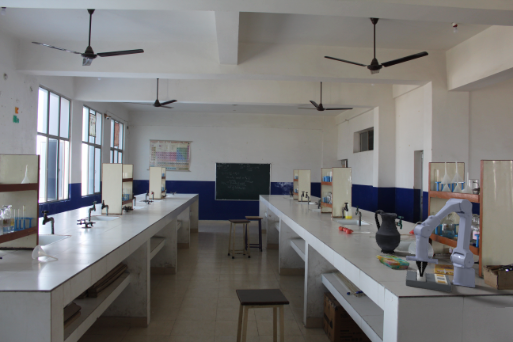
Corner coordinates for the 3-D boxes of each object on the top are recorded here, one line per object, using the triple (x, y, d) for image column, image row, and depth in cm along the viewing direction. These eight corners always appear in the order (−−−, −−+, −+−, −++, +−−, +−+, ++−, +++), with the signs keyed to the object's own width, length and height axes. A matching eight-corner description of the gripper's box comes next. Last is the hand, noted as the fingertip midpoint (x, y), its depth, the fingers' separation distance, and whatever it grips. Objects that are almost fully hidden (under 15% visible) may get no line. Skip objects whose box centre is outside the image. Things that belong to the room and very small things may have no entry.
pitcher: (388, 255, 245) (389, 212, 246) (366, 249, 264) (367, 209, 264) (405, 253, 254) (406, 212, 254) (382, 248, 272) (383, 209, 272)
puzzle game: (390, 261, 209) (376, 254, 229) (390, 269, 209) (376, 261, 229) (409, 261, 210) (393, 254, 230) (409, 269, 210) (393, 261, 230)
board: (448, 281, 186) (448, 274, 187) (451, 292, 168) (451, 284, 168) (406, 275, 195) (407, 269, 195) (405, 285, 177) (405, 278, 177)
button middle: (425, 278, 184) (425, 270, 184) (425, 280, 180) (425, 272, 180) (416, 277, 185) (417, 269, 186) (416, 279, 182) (417, 271, 182)
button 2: (425, 283, 178) (425, 275, 178) (425, 286, 174) (425, 277, 174) (416, 282, 180) (416, 274, 180) (416, 284, 176) (416, 276, 176)
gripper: (406, 248, 177) (405, 276, 176) (438, 252, 171) (438, 280, 170) (406, 246, 183) (405, 272, 183) (437, 249, 177) (437, 277, 177)
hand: (421, 276), depth 177 cm, fingers closed, pressing on button 2
